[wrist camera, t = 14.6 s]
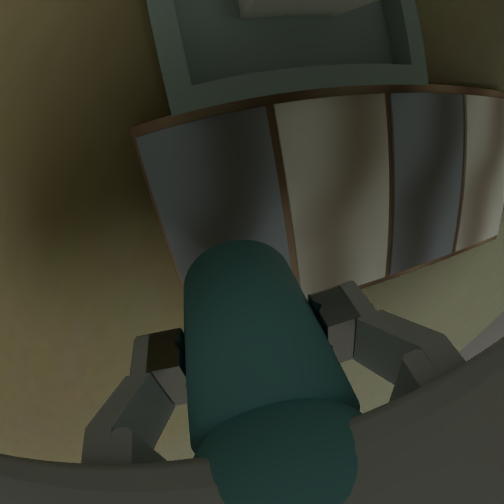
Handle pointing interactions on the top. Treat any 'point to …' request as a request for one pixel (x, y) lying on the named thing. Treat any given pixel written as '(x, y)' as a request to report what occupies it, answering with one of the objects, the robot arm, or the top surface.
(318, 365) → the pawn
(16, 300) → the top surface
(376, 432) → the robot arm
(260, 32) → the tray
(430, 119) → the board
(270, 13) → the die
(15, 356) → the top surface
